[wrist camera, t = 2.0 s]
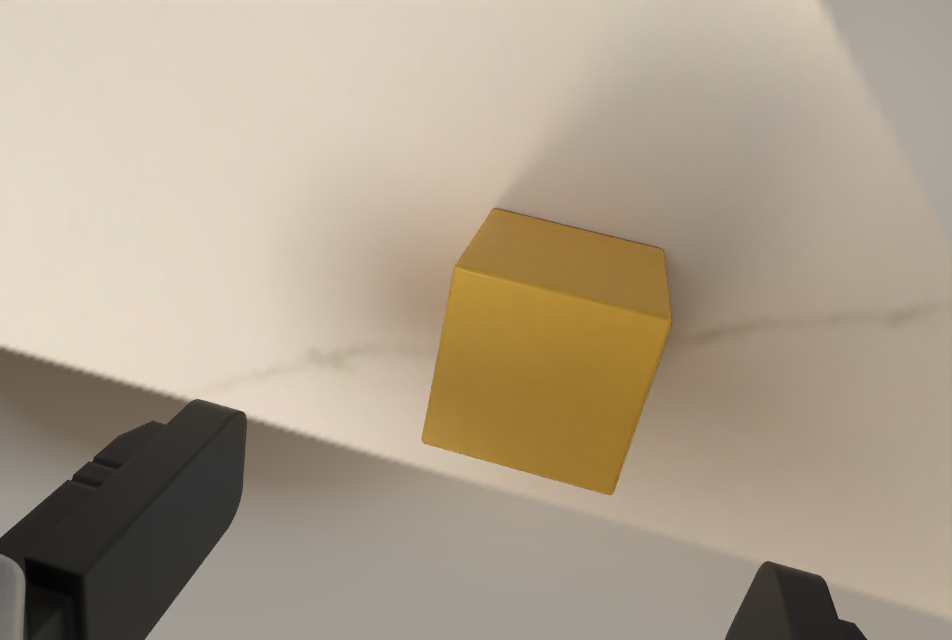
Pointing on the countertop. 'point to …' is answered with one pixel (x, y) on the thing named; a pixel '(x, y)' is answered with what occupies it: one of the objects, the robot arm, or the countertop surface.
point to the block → (548, 349)
